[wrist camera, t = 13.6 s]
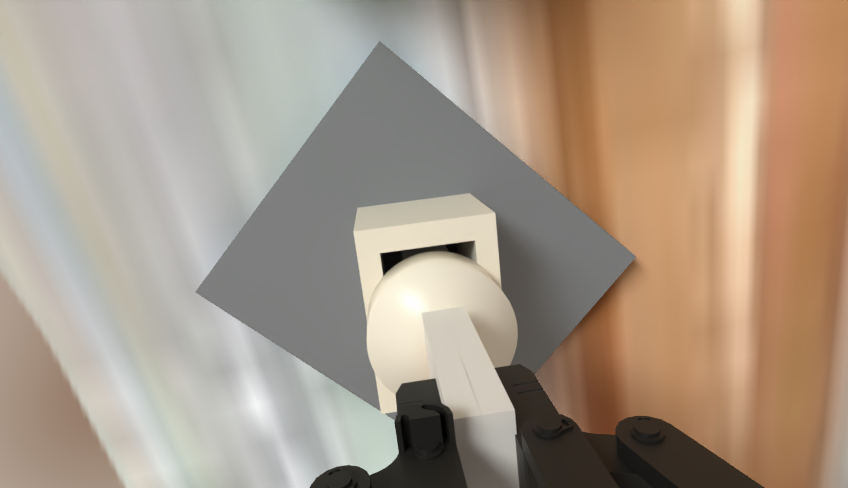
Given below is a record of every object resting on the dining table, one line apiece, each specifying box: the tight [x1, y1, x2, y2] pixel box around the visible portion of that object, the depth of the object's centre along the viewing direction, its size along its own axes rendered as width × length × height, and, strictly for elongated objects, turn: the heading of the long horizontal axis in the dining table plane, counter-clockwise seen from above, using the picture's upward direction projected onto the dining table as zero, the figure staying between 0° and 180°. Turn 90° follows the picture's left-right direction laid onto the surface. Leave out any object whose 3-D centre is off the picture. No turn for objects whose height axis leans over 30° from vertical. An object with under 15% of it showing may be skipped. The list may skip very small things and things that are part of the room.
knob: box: [353, 193, 518, 414], centre depth 22 cm, size 8×6×8 cm
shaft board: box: [196, 41, 636, 420], centre depth 24 cm, size 15×17×6 cm
